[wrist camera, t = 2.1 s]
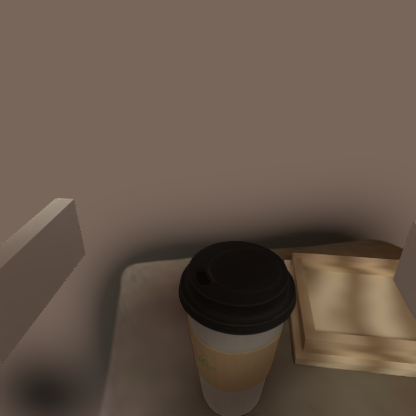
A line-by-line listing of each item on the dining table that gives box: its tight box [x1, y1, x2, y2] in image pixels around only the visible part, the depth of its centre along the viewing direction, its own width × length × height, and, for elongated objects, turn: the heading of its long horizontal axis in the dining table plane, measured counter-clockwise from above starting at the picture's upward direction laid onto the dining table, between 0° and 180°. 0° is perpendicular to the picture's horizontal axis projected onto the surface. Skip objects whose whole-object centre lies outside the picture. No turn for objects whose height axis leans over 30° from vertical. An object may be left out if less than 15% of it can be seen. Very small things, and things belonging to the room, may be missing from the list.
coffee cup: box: [179, 241, 296, 416], centre depth 30 cm, size 9×9×15 cm
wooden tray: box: [284, 252, 416, 377], centre depth 42 cm, size 17×17×3 cm
